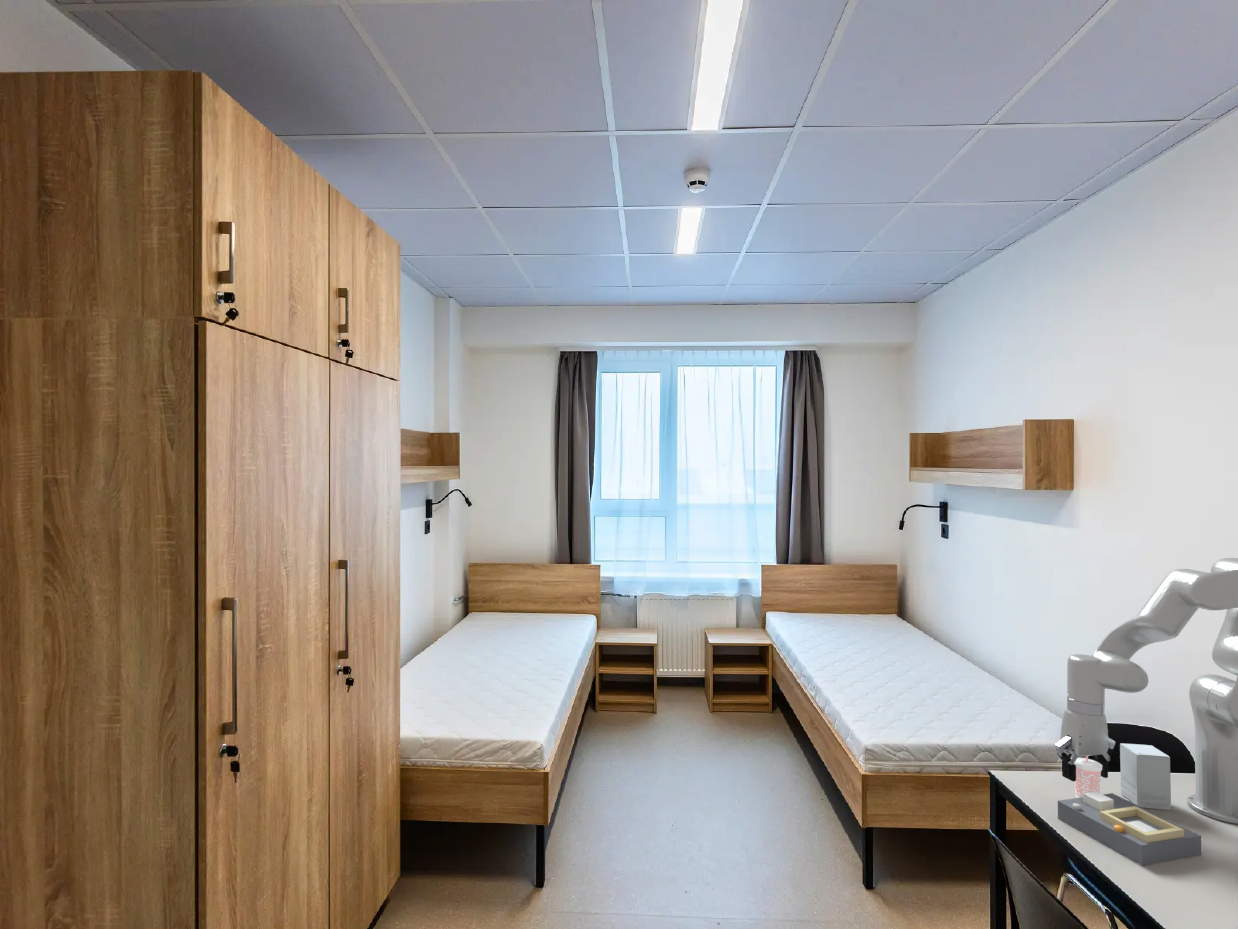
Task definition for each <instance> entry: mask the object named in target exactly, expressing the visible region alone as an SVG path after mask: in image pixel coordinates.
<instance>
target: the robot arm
mask: <svg viewBox="0 0 1238 929" xmlns="http://www.w3.org/2000/svg"><path fill="white" fill-rule="evenodd" d="M1211 565H1212V566H1211V568H1210V572H1206V571H1202V570H1195V569H1189V568H1178V569H1173V570H1172V571H1170V572H1168V574H1167V575H1166V576H1165V577H1164V578H1163V580H1162V581H1161V582H1160V583H1159V585H1158V586H1157V587H1156V589H1155V590H1154V591H1153V593H1152V594H1151V596H1150V597H1149V598H1148V600H1147V601H1146V602H1145V604H1144V605H1143V607H1142V608H1141V609H1140V610H1139V612H1138V613H1137V614H1136V615H1135V616H1133V617H1132V618H1130V619H1128V620H1126V621H1125V622H1123V623H1122V624H1121V625H1118V626H1117V627H1116V628H1114V629H1113V630H1111V631H1110V632H1109V633H1107V635H1106V636H1105V637H1104V638H1103V640H1102V641H1101V642H1100V643H1099V644H1098V646H1097V648H1096V649H1095V650H1094V651H1093V654H1092V655H1089V654H1081V653H1080V654H1079V653H1075V654H1071V655H1069V656H1068V658H1067V664H1066V666H1067V668H1066V670H1067V671H1066V672H1067V676H1066V677H1067V682H1066V683H1067V687H1066V688H1067V690H1066V691H1067V693H1066V709H1065V710H1064V712H1063V717H1062V720H1061V727H1060V728H1061V729H1060V738H1059V739H1060V740H1059V741H1058V742H1056V743H1055V744H1054V749H1055V750H1056V754H1057V755H1056V756H1058V757H1059V759H1060V761H1061V763H1062V764H1061V766H1062V767H1061V768H1062V769H1061V775H1062V777H1063V778H1065V779H1067V780H1070V781H1071V782H1075V781H1076V765H1075V764H1074V762H1075V761H1076V759H1077V758H1079V757H1086V756H1088V757H1089V756H1093V760H1094V761H1097V762H1098V763H1100V764H1101V765H1102V771H1101V777H1102V778H1103V779H1104V778H1105V779H1107V778H1109V762H1110V761H1111V755H1112V754H1113V753H1114V748H1115V745H1116V741H1115V740H1113V739H1112V738H1110V737H1109V729H1108V723H1107V722H1108V721H1107V717H1106V713H1105V712H1106V710H1105V708H1106V707H1105V706H1106V705H1105V704H1106V693H1105V692H1106V689H1107V690H1111V691H1117V692H1121V693H1125V694H1126V693H1127V694H1134V693H1135V694H1136V693H1140V692H1142V691H1143V690H1145V689H1146V688H1147V687H1148V685H1149V676H1148V674H1147V672H1146V670H1145V669H1144V668H1143V667H1141V665H1139V664H1137V663H1135V662H1133V661H1132V660H1131V659H1132V657H1134V655H1135V654H1137V653H1138V651H1140V650H1141V649H1143V648H1145V647H1146V646H1148V645H1152V644H1155V643H1160V642H1166V641H1170V640H1172V639H1176V637H1178V636H1179V635H1180V633H1181V632H1182V631H1183V629H1184V628H1185V626H1186V625H1187V624H1188V623H1189V621H1190V620H1191V619H1192V617H1193V616H1194V615H1195V613H1196V612H1197V611H1198V610H1199V609H1201V610H1206V611H1224V610H1226V612H1225V616H1224V619H1223V622H1222V624H1221V627H1220V629H1219V633H1218V634H1217V638H1216V640H1215V643H1214V645H1213V648H1212V652H1211V658H1212V660H1213V662H1214V664H1215V665H1216V666H1218V668H1220V669H1222V670H1223V671H1226V672H1228V673H1230V674H1232V675H1234V676H1237V677H1236V680H1233V679H1232V678H1229V677H1226V676H1222V675H1218V674H1208V673H1207V674H1203V675H1200V676H1198V677H1196V678H1195V679H1194V680H1193V681H1192V682H1191V684H1190V686H1189V690H1188V693H1189V694H1188V695H1189V702H1190V707H1191V712H1192V715H1193V724H1194V725H1193V726H1194V762H1195V764H1194V768H1195V770H1194V771H1195V772H1194V773H1195V774H1194V775H1195V776H1194V777H1195V780H1194V781H1195V794H1190V795H1188V796H1187V801H1186V802H1187V805H1188V806H1189V807H1190V808H1192V809H1193V810H1194V811H1197V812H1198V813H1200V814H1202V815H1205V816H1207V817H1209V818H1212V819H1215V820H1219V821H1222V822H1226V823H1231V824H1234V825H1235V824H1236V825H1238V558H1237V557H1224V558H1220V559H1218V560H1216V561H1215V562H1214V563H1213V564H1211ZM1070 754H1071V756H1069V755H1070Z"/></svg>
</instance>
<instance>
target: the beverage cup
mask: <svg viewBox="0 0 1238 929" xmlns="http://www.w3.org/2000/svg"><path fill="white" fill-rule="evenodd" d="M1074 764H1075V765H1076V781H1074V791H1075V792H1074V793H1075V798H1081V797H1083V793H1090V792H1099V793H1101V791H1100V790H1101V777H1102V776H1101V771H1102V765H1101V764H1100V763H1098V762H1097V761H1094V759H1090V758H1089V756H1085V757H1078V758H1077V759H1076V761H1075V762H1074Z"/></svg>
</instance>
